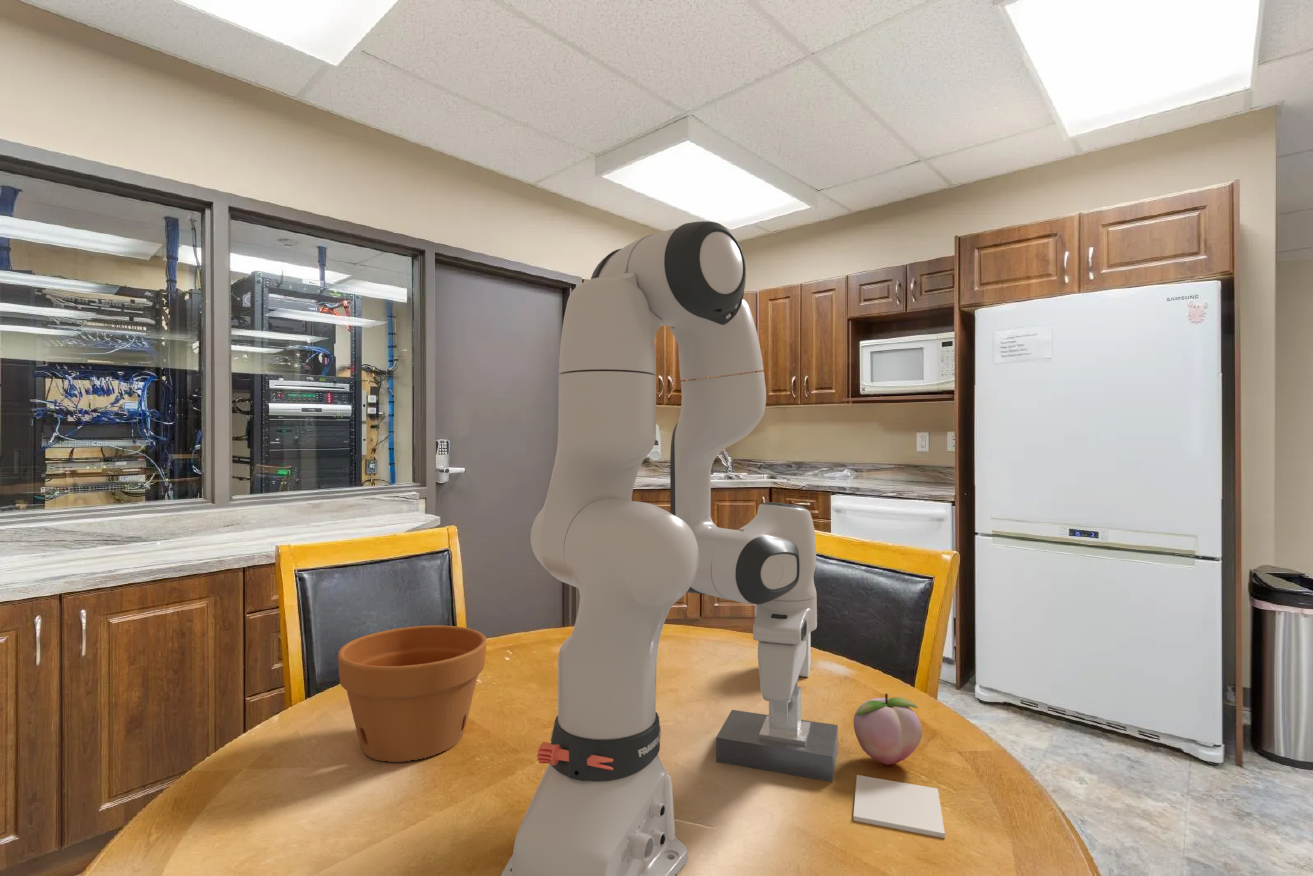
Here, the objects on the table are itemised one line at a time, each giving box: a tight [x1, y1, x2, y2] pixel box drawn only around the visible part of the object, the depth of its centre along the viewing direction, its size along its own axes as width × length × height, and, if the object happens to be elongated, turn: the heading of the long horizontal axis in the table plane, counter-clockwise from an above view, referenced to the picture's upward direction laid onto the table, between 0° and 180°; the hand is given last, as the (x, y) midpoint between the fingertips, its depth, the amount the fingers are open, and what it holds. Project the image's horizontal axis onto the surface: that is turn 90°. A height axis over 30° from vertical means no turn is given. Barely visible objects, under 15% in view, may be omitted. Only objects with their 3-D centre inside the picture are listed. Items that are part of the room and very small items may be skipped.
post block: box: [715, 709, 839, 783], centre depth 92 cm, size 10×16×4 cm, turn 70°
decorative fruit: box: [853, 693, 923, 766], centre depth 89 cm, size 9×8×10 cm
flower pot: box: [337, 624, 487, 763], centre depth 96 cm, size 21×21×15 cm
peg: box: [759, 685, 810, 746], centre depth 91 cm, size 6×6×10 cm
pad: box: [852, 774, 946, 839], centre depth 79 cm, size 10×10×1 cm
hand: (786, 709), depth 92 cm, fingers open, 8 cm apart
